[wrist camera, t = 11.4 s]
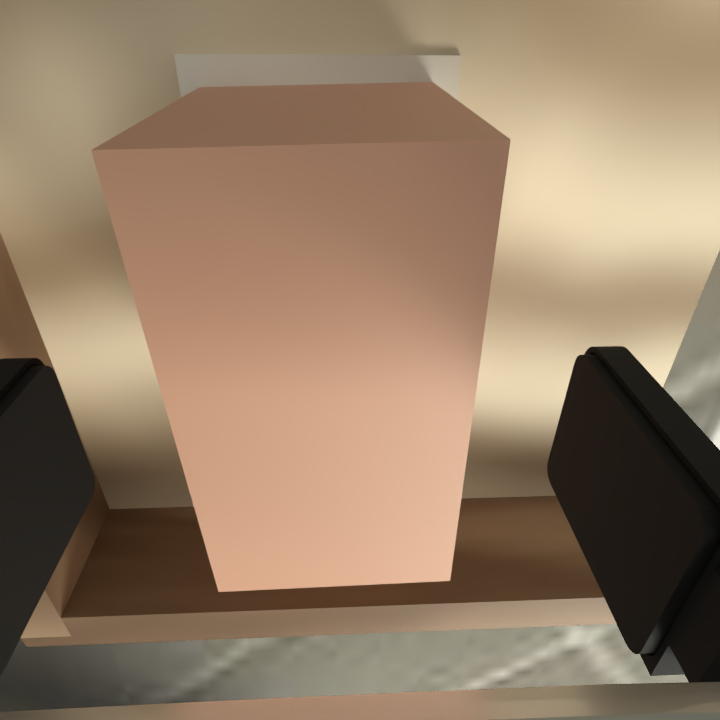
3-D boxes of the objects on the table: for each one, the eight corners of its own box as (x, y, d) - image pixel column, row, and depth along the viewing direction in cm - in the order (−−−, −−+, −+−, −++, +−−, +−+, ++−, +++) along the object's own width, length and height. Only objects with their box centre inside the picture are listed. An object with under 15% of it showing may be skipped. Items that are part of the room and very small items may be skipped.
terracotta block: (432, 81, 11) (510, 139, 6) (414, 406, 16) (450, 580, 11) (198, 86, 11) (90, 149, 6) (253, 412, 16) (218, 591, 11)
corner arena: (593, 508, 21) (657, 629, 17) (93, 524, 20) (32, 655, 16) (923, -355, 9) (1440, -675, 5) (-304, -396, 8) (-964, -814, 4)
